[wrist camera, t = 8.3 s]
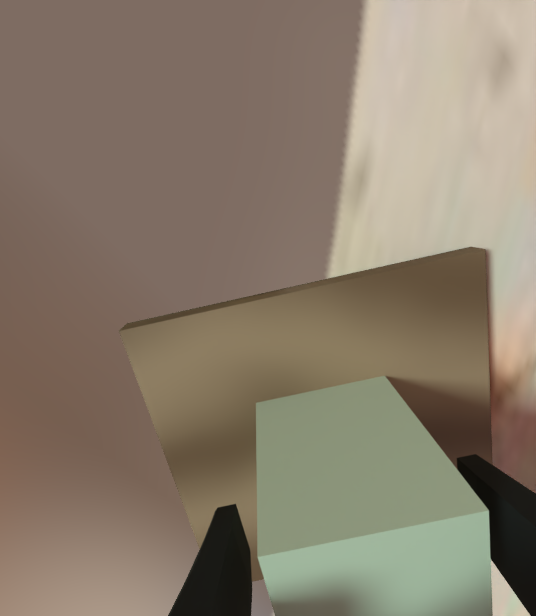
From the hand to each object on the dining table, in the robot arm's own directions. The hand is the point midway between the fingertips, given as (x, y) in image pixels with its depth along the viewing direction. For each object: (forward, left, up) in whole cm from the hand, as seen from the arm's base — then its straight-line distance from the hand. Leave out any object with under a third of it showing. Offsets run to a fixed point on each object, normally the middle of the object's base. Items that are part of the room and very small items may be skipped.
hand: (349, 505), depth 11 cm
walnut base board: (0, 0, -4) cm, 4 cm away
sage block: (0, 0, -3) cm, 3 cm away
